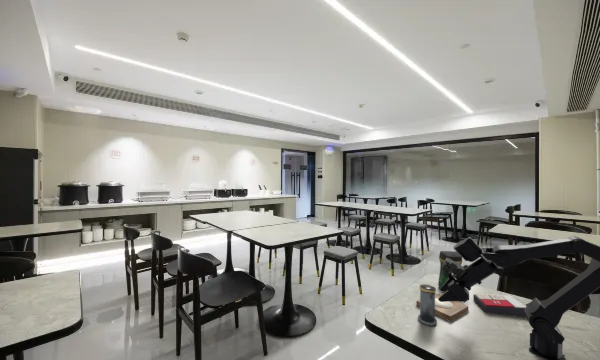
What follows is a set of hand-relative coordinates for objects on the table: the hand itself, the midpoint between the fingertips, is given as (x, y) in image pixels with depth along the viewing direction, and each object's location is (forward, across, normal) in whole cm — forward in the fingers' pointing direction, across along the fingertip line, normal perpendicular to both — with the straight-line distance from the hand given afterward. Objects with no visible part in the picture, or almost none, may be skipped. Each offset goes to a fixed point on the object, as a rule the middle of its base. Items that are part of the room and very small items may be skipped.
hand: (439, 295), depth 94 cm
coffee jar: (+6, -36, +10) cm, 38 cm away
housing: (+11, 0, +5) cm, 12 cm away
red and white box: (-6, -27, +23) cm, 36 cm away
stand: (+8, -14, +8) cm, 18 cm away
